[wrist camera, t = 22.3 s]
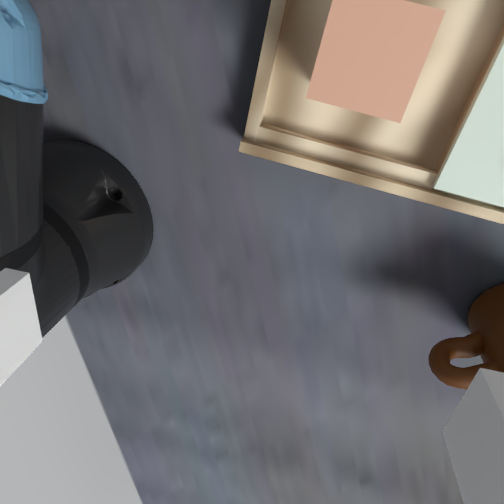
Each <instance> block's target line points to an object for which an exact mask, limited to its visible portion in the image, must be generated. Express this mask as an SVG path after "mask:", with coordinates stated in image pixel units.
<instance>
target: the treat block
mask: <svg viewBox="0 0 504 504" xmlns="http://www.w3.org/2000/svg"><path fill="white" fill-rule="evenodd" d="M445 12H446V10H442V9H438V8H434V7H430V6H426V5H422V4H418V3H413V2H409V1H405V0H332V4H331V7H330V11H329V15H328V18H327V22H326V26H325V29H324V33H323V37H322V40H321V44H320V48H319V51H318V55H317V58H316V62H315V66H314V69H313V73H312V77H311V80H310V84H309V88H308V91H307V95H306V98H307V99H311V100H315V101H319V102H322V103H326V104H330V105H334V106H337V107H341V108H345V109H349V110H352V111H356V112H360V113H364V114H367V115H371V116H375V117H379V118H382V119H386V120H390V121H394V122H397V123H401V120H402V118H403V115H404V113H405V110H406V108H407V105H408V103H409V100H410V98H411V96H412V93H413V91H414V88H415V86H416V83H417V81H418V78H419V76H420V73H421V71H422V68H423V66H424V63H425V61H426V58H427V56H428V54H429V51H430V49H431V46H432V44H433V41H434V39H435V36H436V34H437V31H438V29H439V26H440V24H441V21H442V19H443V16H444V14H445Z"/></svg>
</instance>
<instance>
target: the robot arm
mask: <svg viewBox="0 0 504 504" xmlns="http://www.w3.org/2000/svg"><path fill="white" fill-rule="evenodd" d="M47 99H48V91H47V89H46V87H45V85H44V81H43V63H42V44H41V30H40V24H39V21H38V18H37V15H36V13H35V11H34V9H33V7H32V6H31V4H30V3H29V1H28V0H0V386H1V385H2V384H3V383H4V382H5V381H6V380H7V379H8V378H9V377H10V375H11V374H13V372H14V371H15V370H16V369H17V368H18V367H19V366H20V365H21V364H22V363H23V361H25V359H27V357H28V356H29V355H30V354H31V353H32V352H33V351H34V350H35V349H36V348H37V347H38V346H39V345H40V344H41V342H42V341H43V340H42V338H43V337H44V336H45V335H46V334H47V333H48V332H49V330H51V329H52V328H53V327H54V326H55V325H56V324H57V323H58V322H59V321H60V320H61V319H62V318H63V317H64V316H65V315H66V314H67V313H68V312H69V311H70V310H71V309H72V308H73V307H74V306H75V305H76V304H77V303H78V302H79V301H80V300H81V299H82V298H85V297H87V296H89V295H91V294H93V293H95V292H96V291H98V290H100V289H103V288H107V287H110V286H113V285H115V284H118V283H120V282H122V281H123V280H125V279H126V278H127V277H129V276H130V275H131V274H132V273H133V272H134V271H135V270H136V269H137V268H138V266H139V265H140V264H141V263H142V262H143V261H144V259H145V258H146V256H147V254H148V252H149V250H150V247H151V244H152V239H153V220H152V215H151V211H150V208H149V204H148V202H147V199H146V197H145V195H144V193H143V191H142V190H141V188H140V186H139V185H138V183H137V182H136V180H135V179H134V178H133V176H132V175H131V174H130V173H129V172H128V171H127V170H126V169H125V168H124V167H123V166H122V165H121V164H120V163H119V162H118V161H117V160H115V159H114V158H113V157H111V156H110V155H108V154H107V153H105V152H104V151H102V150H100V149H98V148H96V147H94V146H91V145H89V144H86V143H83V142H79V141H73V140H54V141H49V142H46V143H43V103H46V101H47ZM442 432H443V436H444V439H445V442H446V446H447V449H448V453H449V456H450V459H451V463H452V466H453V470H454V473H455V476H456V480H457V483H458V487H459V490H460V494H461V497H462V500H463V504H504V373H503V372H498V371H493V370H489V369H484V368H480V369H479V370H478V372H477V374H476V375H475V377H474V379H473V380H472V382H471V384H470V385H469V387H468V389H467V390H466V392H465V394H464V395H463V397H462V399H461V401H460V402H459V404H458V406H457V407H456V409H455V411H454V412H453V414H452V416H451V417H450V419H449V421H448V422H447V424H446V426H445V427H444V429H443V431H442Z"/></svg>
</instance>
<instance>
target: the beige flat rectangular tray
mask: <svg viewBox="0 0 504 504" xmlns="http://www.w3.org/2000/svg"><path fill="white" fill-rule="evenodd" d="M405 1H409V2H413V3H418V4H422V5H426V6H430V7H434V8H438V9H442V10H446V12H445V14H444V16H443V19H442V21H441V24H440V26H439V29H438V31H437V34H436V36H435V39H434V41H433V44H432V46H431V49H430V51H429V54H428V56H427V58H426V61H425V63H424V66H423V68H422V71H421V73H420V76H419V78H418V81H417V83H416V86H415V88H414V91H413V93H412V96H411V98H410V100H409V103H408V105H407V108H406V110H405V113H404V115H403V118H402V120H401V123H397V122H394V121H390V120H386V119H382V118H379V117H375V116H371V115H367V114H364V113H360V112H356V111H352V110H349V109H345V108H341V107H337V106H334V105H330V104H326V103H322V102H319V101H315V100H311V99H307V98H306V95H307V91H308V88H309V84H310V80H311V77H312V73H313V69H314V66H315V62H316V58H317V55H318V51H319V48H320V44H321V40H322V37H323V33H324V29H325V26H326V22H327V18H328V15H329V11H330V7H331V4H332V0H271V4H270V9H269V14H268V19H267V24H266V29H265V34H264V39H263V44H262V49H261V54H260V59H259V64H258V69H257V74H256V79H255V84H254V89H253V94H252V99H251V104H250V109H249V114H248V119H247V124H246V129H245V134H244V139H243V140H242V141H241V142H240V147H239V152H242V153H246V154H250V155H253V156H257V157H261V158H264V159H268V160H272V161H275V162H279V163H283V164H286V165H290V166H294V167H297V168H301V169H304V170H308V171H312V172H315V173H319V174H323V175H326V176H330V177H334V178H337V179H341V180H345V181H348V182H352V183H356V184H359V185H363V186H366V187H370V188H374V189H377V190H381V191H385V192H388V193H392V194H396V195H399V196H403V197H407V198H410V199H414V200H417V201H421V202H425V203H428V204H432V205H436V206H439V207H443V208H447V209H450V210H454V211H458V212H461V213H465V214H469V215H472V216H476V217H479V218H483V219H487V220H490V221H494V222H498V223H501V224H504V207H500V206H497V205H493V204H489V203H486V202H482V201H478V200H475V199H471V198H467V197H464V196H460V195H456V194H452V193H449V192H445V191H441V190H438V189H434V188H433V186H432V185H433V183H434V181H435V179H436V177H437V175H438V173H439V171H440V169H441V166H442V164H443V162H444V160H445V158H446V156H447V154H448V152H449V150H450V148H451V146H452V144H453V141H454V139H455V137H456V135H457V133H458V131H459V129H460V127H461V125H462V123H463V121H464V119H465V116H466V114H467V112H468V110H469V108H470V106H471V104H472V102H473V100H474V98H475V96H476V94H477V91H478V89H479V87H480V85H481V83H482V81H483V79H484V77H485V75H486V73H487V71H488V69H489V66H490V64H491V62H492V60H493V58H494V56H495V54H496V52H497V50H498V48H499V46H500V44H501V41H502V39H503V37H504V0H405Z"/></svg>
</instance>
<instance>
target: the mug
mask: <svg viewBox="0 0 504 504" xmlns="http://www.w3.org/2000/svg"><path fill="white" fill-rule="evenodd" d="M468 325H469V329H470V332H471V334H470V335H467V336H465V337H455V338H449V339H445V340H442V341H440V342H439V343H437V344H436V345H434V347H433V348H432V349H431V352H430V354H429V366H430V368H431V370H432V372H433V373H434V375H435V376H436V377H437V378H438V379H439V380H440V381H442V382H443V383H445V384H447V385H449V386H452V387H456V388H460V389H468V387H469V385H470V384H471V382H472V380H473V379H474V377H475V375H476V374H477V372H478V370H479V369H480V368H484V369H489V370H493V371H498V372H503V373H504V283H503V284H500V285H497V286H494V287H492V288H490V289H488V290H487V291H485V292H484V293H482V294H481V295H480V296H479V297H478V298H477V299H476V300H475V301H474V303H473V304H472V306H471V308H470V310H469V314H468ZM478 355H480V356H481V358H482V360H483V362H484V363H483V364H479V365H475V366H471V367H467V368H460V367H455V366H453V365H451V364H450V361H451V359H454V358H471V357H475V356H478Z"/></svg>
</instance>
